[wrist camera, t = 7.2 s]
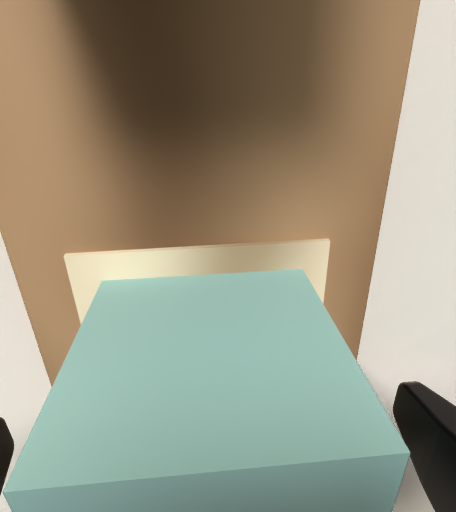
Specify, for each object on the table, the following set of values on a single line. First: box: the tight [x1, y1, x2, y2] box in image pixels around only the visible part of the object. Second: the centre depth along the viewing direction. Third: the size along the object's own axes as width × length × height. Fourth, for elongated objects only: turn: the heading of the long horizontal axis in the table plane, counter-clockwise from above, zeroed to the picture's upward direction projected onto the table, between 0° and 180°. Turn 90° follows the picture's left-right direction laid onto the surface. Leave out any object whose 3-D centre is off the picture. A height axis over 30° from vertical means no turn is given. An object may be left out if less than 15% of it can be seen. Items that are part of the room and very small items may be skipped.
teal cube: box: [3, 269, 410, 512], centre depth 8 cm, size 5×5×5 cm
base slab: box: [0, 0, 420, 386], centre depth 8 cm, size 9×22×3 cm, turn 1°
